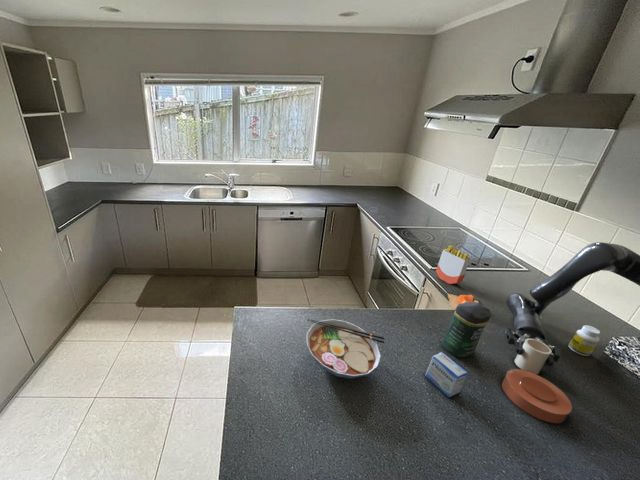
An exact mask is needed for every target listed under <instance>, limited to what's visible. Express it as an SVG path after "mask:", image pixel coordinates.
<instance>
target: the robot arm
mask: <svg viewBox="0 0 640 480" xmlns="http://www.w3.org/2000/svg"><path fill="white" fill-rule="evenodd" d="M600 271H603V272H610V273H613V274H616V275H618V276H620V277H622V278H624V279H626V280H628V281H630V282H632V283H634V284H635V285H637V286H639V287H640V254H639V253H637V252H635V251H633V250H632V249H630V248H629V247H626V246H624V245H621V244H618V243H617V244H616V243H610V242H601V241H600V242H593V243H589V244H587V245H586V246H584V247H583V248H582V249H580V251H578V252H577V253H576V254H575V255H574V256H573V257H572V258H571V259H570V260H569V261H568V262H566V263H565V264H564V265H563V266H562V267H560V268H559V269H558V270H557V271H556V272H554V273H553V274H551V275H550V276H549V277H547V278H545V279H544V280H542V281H541V282H539V283H538V284H536V285H534V286H533V287H531V288H530V289H529V295H530V296H531V298H533V299H531V298H529V297H527V296H526V295H524V294H522V293H518V292H517V293H511V294H509V296H507V298H506V306H507V309H508V310H509V311H510V313H511V315H512V316H513V328H514V331H513V330H512V329H511V328H510V327H506V328H505V331H504V333H503V334H504V337H505V340H506V344H507V345H508V344H509V345H512V346H513V347H514V352H515V353H517V355H521V354H522V353H523V346H522V345H523V343H524V342H525V340H526V339H535V340H538V341H540V342H542V343H544V344H545V345H547V346H548V347H549V348H550V349H551V351H552V352H551V354H550V356H549V357H548V359H547V361H546V362H545V366H546V367H549V368H550V367H553V366H554V364H555V363H558V362H559V360H560V359H561V357H562V355H561V354H562V353H561V347H560V346H559V345H554V346H553V345H551V344H550V343H549V342H548V341H547V340H546V335H545V331H544V327H543V324H542V322H541V320H540V316H541V315H542V313H543V312H544V311H545V309H546V308H547V307H548V306H550V305H551V304H552V303H554V302H555V301H557V300H559V299H561V298H562V297H564V296H566V295H567V294H568V293H570V292H571V291H572V290H573V289H574V287H575V286H576V285H577V284H578V283H579V282H580V281H582V280H583V279H585V278H586V277H589V276H590V275H592V274H596V273H598V272H600ZM534 300H535V301H534ZM515 338H516V339H515Z"/></svg>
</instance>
